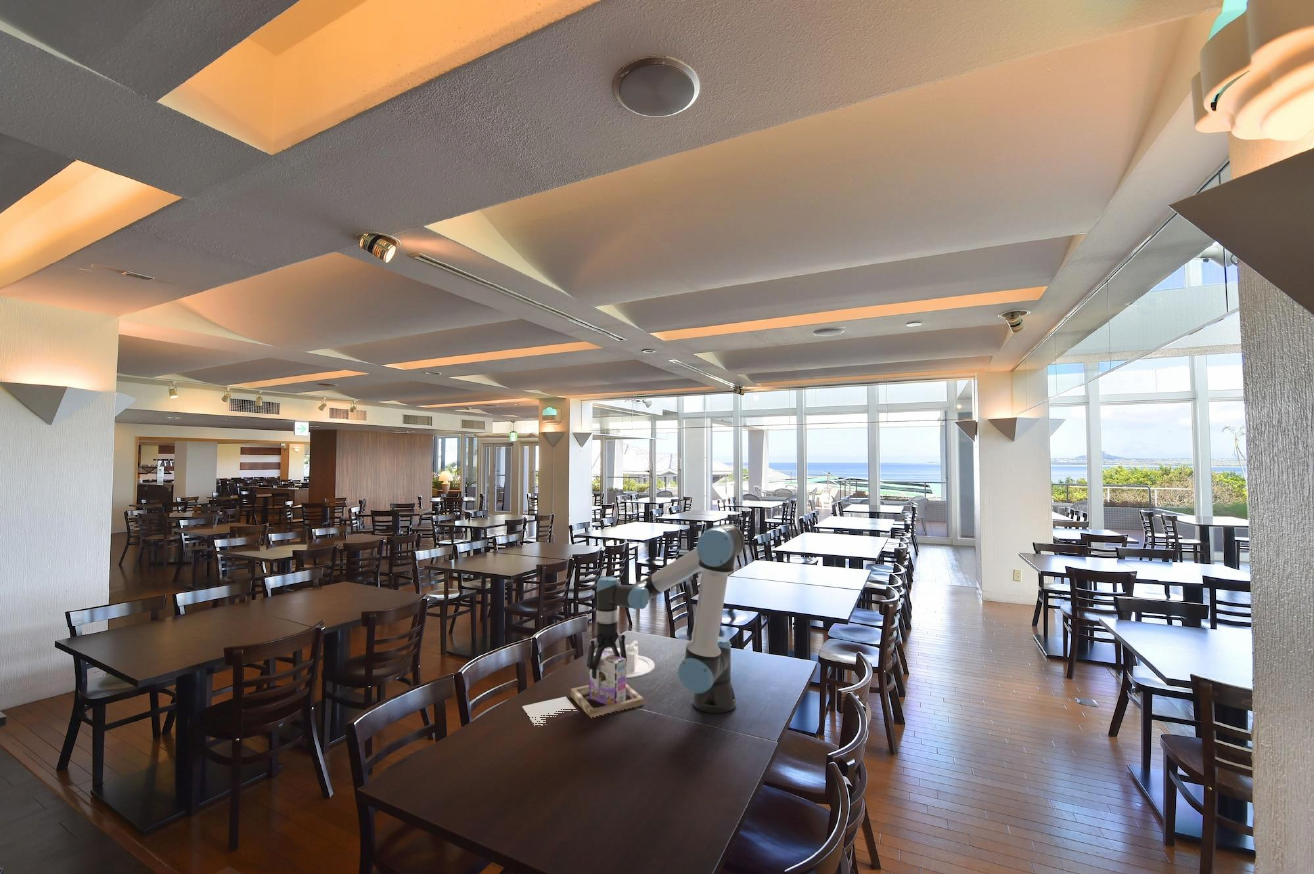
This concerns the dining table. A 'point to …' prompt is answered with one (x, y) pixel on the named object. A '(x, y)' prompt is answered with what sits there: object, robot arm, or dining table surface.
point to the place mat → (547, 709)
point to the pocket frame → (593, 712)
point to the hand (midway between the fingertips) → (607, 684)
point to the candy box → (609, 680)
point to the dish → (635, 661)
